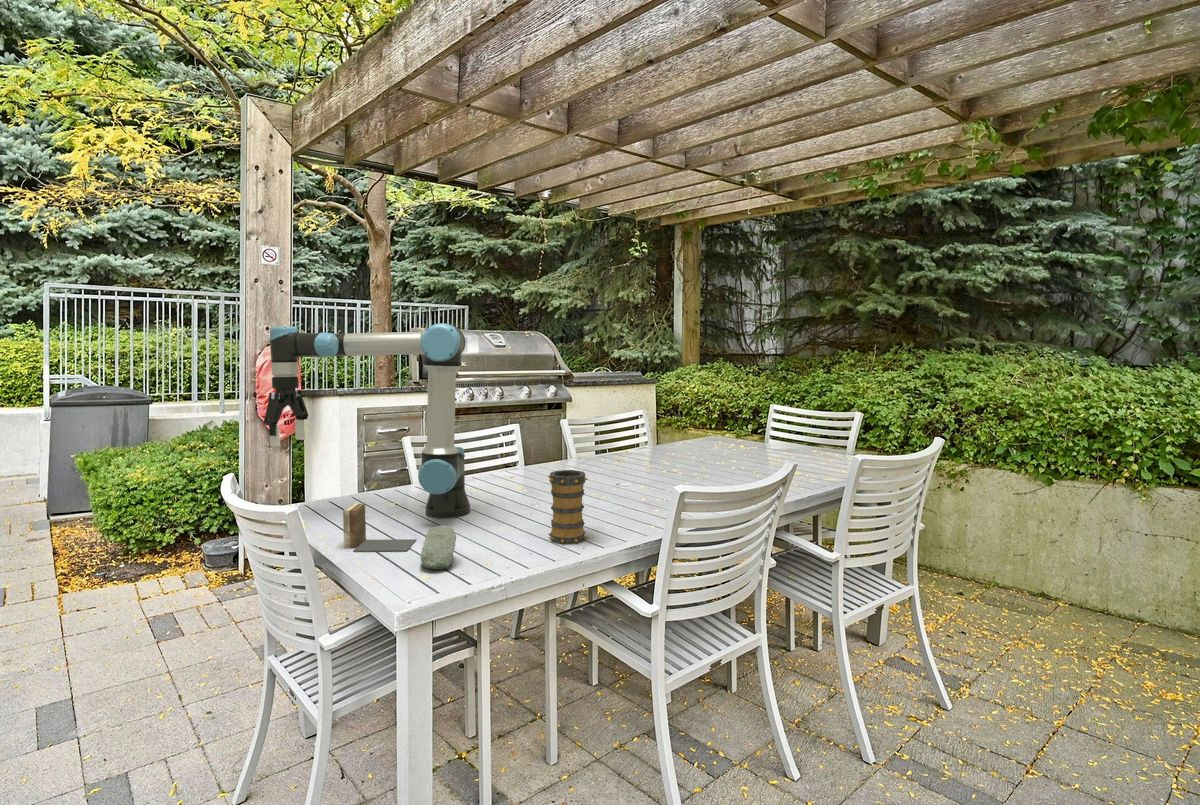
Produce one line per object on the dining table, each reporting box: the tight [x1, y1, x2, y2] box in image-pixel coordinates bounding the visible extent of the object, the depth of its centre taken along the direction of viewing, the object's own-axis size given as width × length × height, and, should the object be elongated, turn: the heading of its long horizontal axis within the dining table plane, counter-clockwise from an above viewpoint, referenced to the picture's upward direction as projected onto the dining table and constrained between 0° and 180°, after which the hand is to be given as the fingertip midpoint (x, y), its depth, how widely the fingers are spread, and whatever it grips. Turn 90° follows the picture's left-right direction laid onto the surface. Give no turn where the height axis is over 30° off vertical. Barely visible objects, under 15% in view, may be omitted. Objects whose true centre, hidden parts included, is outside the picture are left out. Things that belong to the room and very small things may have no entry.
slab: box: [342, 503, 367, 549], centre depth 182 cm, size 4×8×11 cm, turn 2°
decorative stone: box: [420, 524, 457, 570], centre depth 166 cm, size 13×11×10 cm
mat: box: [352, 538, 417, 553], centre depth 180 cm, size 15×10×1 cm, turn 92°
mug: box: [547, 469, 589, 545], centre depth 189 cm, size 13×17×20 cm
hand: (288, 442), depth 198 cm, fingers open, 13 cm apart
